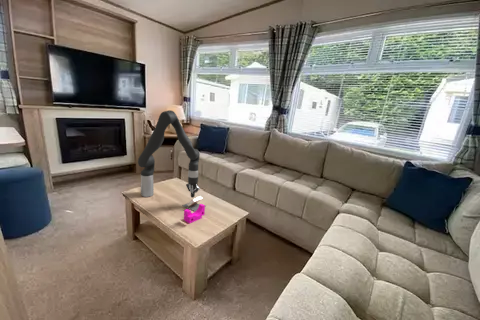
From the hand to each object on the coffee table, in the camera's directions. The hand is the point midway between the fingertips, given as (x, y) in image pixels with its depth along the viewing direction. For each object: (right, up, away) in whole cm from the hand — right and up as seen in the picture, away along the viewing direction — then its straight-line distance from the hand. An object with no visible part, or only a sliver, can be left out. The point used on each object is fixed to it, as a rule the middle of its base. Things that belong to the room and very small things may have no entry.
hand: (192, 197), depth 166 cm
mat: (+1, -7, 0) cm, 7 cm away
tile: (-1, -5, +1) cm, 5 cm away
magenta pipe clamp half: (+6, -12, -17) cm, 21 cm away
